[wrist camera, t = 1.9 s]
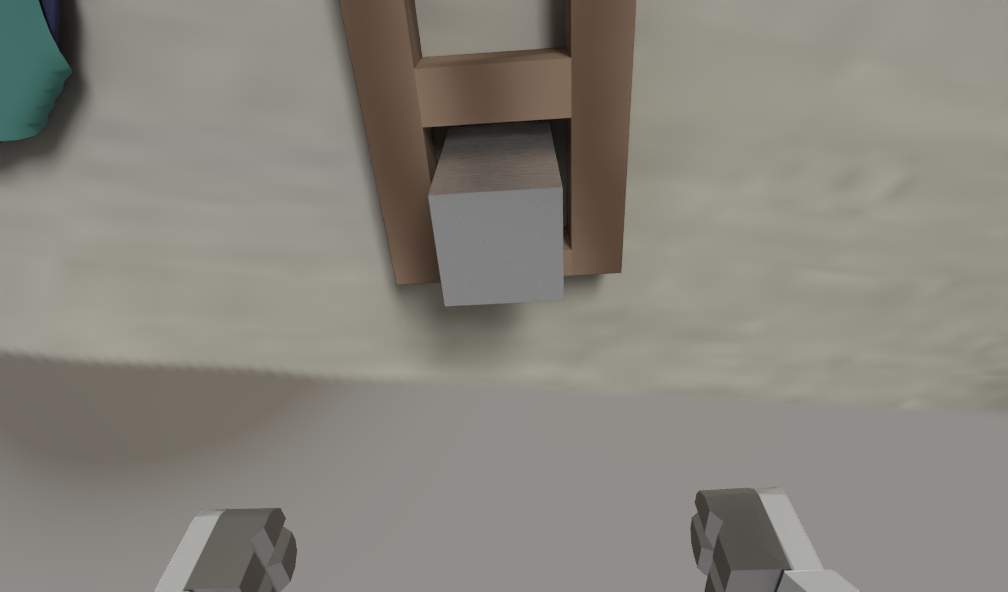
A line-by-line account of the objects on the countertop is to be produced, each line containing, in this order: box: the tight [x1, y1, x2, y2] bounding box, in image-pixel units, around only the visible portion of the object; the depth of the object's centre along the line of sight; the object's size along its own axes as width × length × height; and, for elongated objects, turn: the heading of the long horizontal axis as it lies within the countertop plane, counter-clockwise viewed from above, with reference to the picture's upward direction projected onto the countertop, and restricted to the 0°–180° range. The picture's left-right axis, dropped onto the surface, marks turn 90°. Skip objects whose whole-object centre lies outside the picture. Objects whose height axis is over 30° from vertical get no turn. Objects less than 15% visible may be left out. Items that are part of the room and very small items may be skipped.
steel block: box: [428, 121, 564, 306], centre depth 24 cm, size 5×5×8 cm
